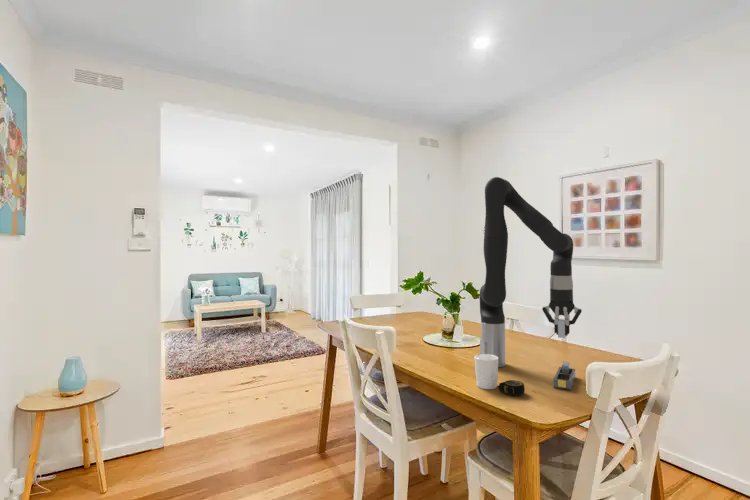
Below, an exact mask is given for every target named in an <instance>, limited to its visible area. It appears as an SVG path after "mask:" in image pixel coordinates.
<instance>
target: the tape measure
mask: <svg viewBox="0 0 750 500" xmlns="http://www.w3.org/2000/svg"><path fill="white" fill-rule="evenodd" d="M497 389H498V390H499V391H500V392H501V393H505V394H506V395H509V396H522V395H524V394H525V391H526V389H525V383H524V382H522V381H520V380H514V379H513V380H511V379H510V380H509V379H508V380H506V381H504V382H500V383H499V384H498V385H497Z"/></svg>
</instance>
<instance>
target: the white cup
mask: <svg viewBox="0 0 750 500" xmlns="http://www.w3.org/2000/svg"><path fill="white" fill-rule="evenodd" d="M473 358H474V369H475V370H474V371H475V378H476V387H478V388H479V389H482V390H495V389H496V388H497V389H498V378H499V376H498V374H499V367H498V357H497V356H495V355H491V354H480V353H479V354H475V355H474V357H473Z"/></svg>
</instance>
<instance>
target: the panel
mask: <svg viewBox="0 0 750 500" xmlns="http://www.w3.org/2000/svg"><path fill="white" fill-rule="evenodd" d="M557 337H558V338H559V339H560V338H562V339H565V338H566V336H565V318H559V320H558V335H557Z"/></svg>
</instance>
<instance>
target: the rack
mask: <svg viewBox="0 0 750 500" xmlns="http://www.w3.org/2000/svg"><path fill="white" fill-rule="evenodd" d="M561 363H562V364H561V366H559V367H558V369H557V371H556V373H555V375H554V378H553V389H557V390H564V391H570V392H572V390H573V385H574V383H575V380H576V368H572V367H571V362H570V361H562V362H561Z"/></svg>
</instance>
